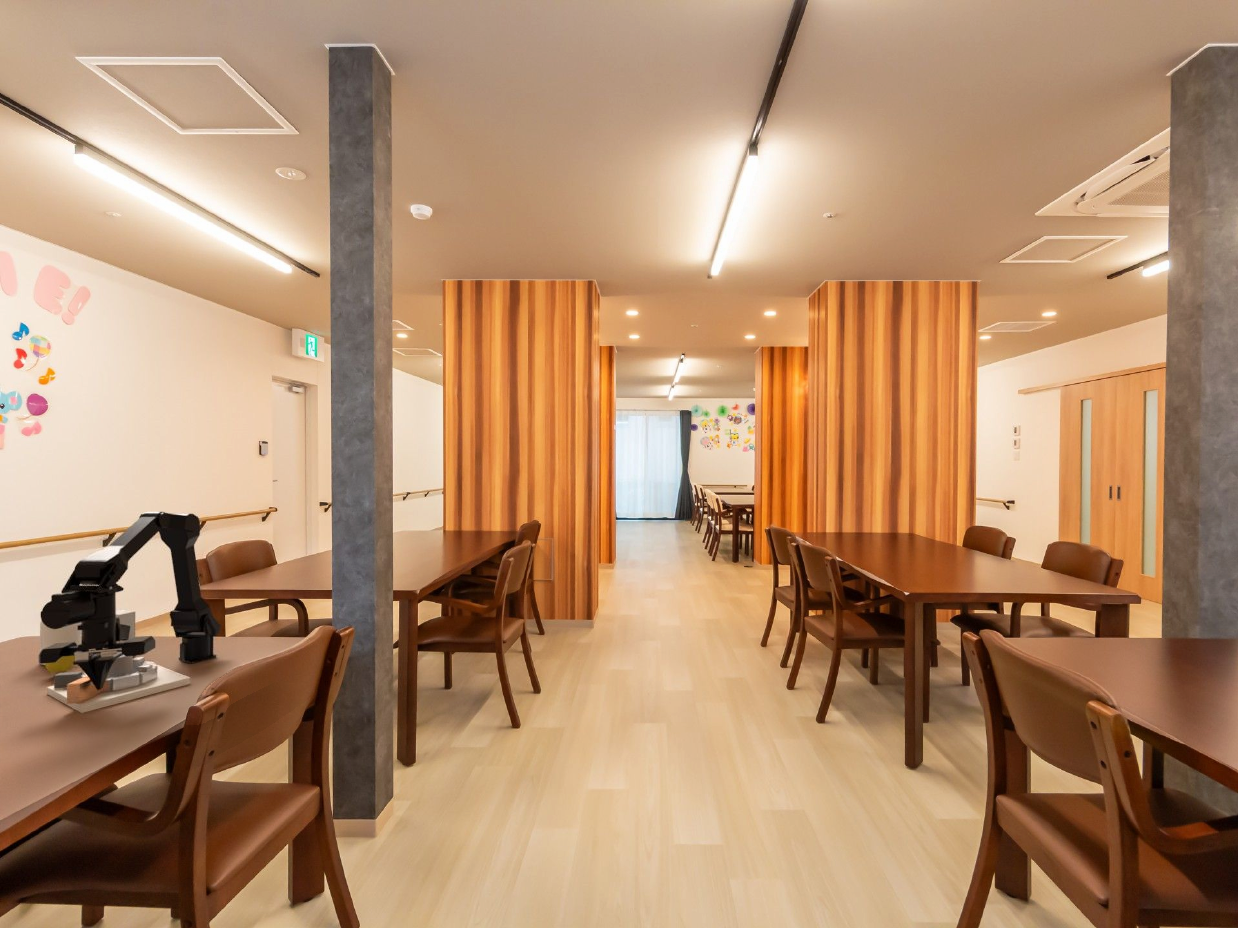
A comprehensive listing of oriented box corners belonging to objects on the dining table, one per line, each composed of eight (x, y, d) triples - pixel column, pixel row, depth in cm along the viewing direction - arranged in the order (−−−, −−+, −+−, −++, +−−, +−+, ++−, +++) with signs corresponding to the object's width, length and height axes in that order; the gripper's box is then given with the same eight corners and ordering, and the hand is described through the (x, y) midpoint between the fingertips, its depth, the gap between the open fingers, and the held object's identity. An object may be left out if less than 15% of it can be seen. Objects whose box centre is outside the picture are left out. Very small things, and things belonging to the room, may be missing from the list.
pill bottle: (85, 659, 160) (86, 602, 161) (45, 668, 154) (45, 608, 154) (74, 654, 165) (75, 599, 165) (34, 662, 158) (35, 604, 158)
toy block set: (112, 672, 146) (112, 655, 146) (168, 671, 147) (168, 654, 147) (40, 703, 126) (40, 684, 127) (105, 702, 127) (105, 683, 127)
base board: (151, 668, 154) (152, 638, 154) (189, 683, 143) (190, 651, 143) (47, 693, 137) (47, 660, 137) (81, 712, 126) (81, 676, 126)
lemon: (56, 680, 145) (57, 646, 145) (38, 678, 146) (38, 645, 146) (81, 672, 151) (81, 640, 151) (63, 670, 152) (64, 638, 152)
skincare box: (103, 657, 163) (104, 612, 163) (121, 652, 167) (121, 608, 167) (118, 659, 160) (118, 614, 161) (136, 655, 165) (136, 610, 165)
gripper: (166, 605, 141) (167, 672, 141) (69, 611, 136) (70, 681, 136) (142, 616, 130) (143, 689, 130) (36, 623, 125) (37, 699, 125)
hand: (99, 689), depth 130 cm, fingers closed
